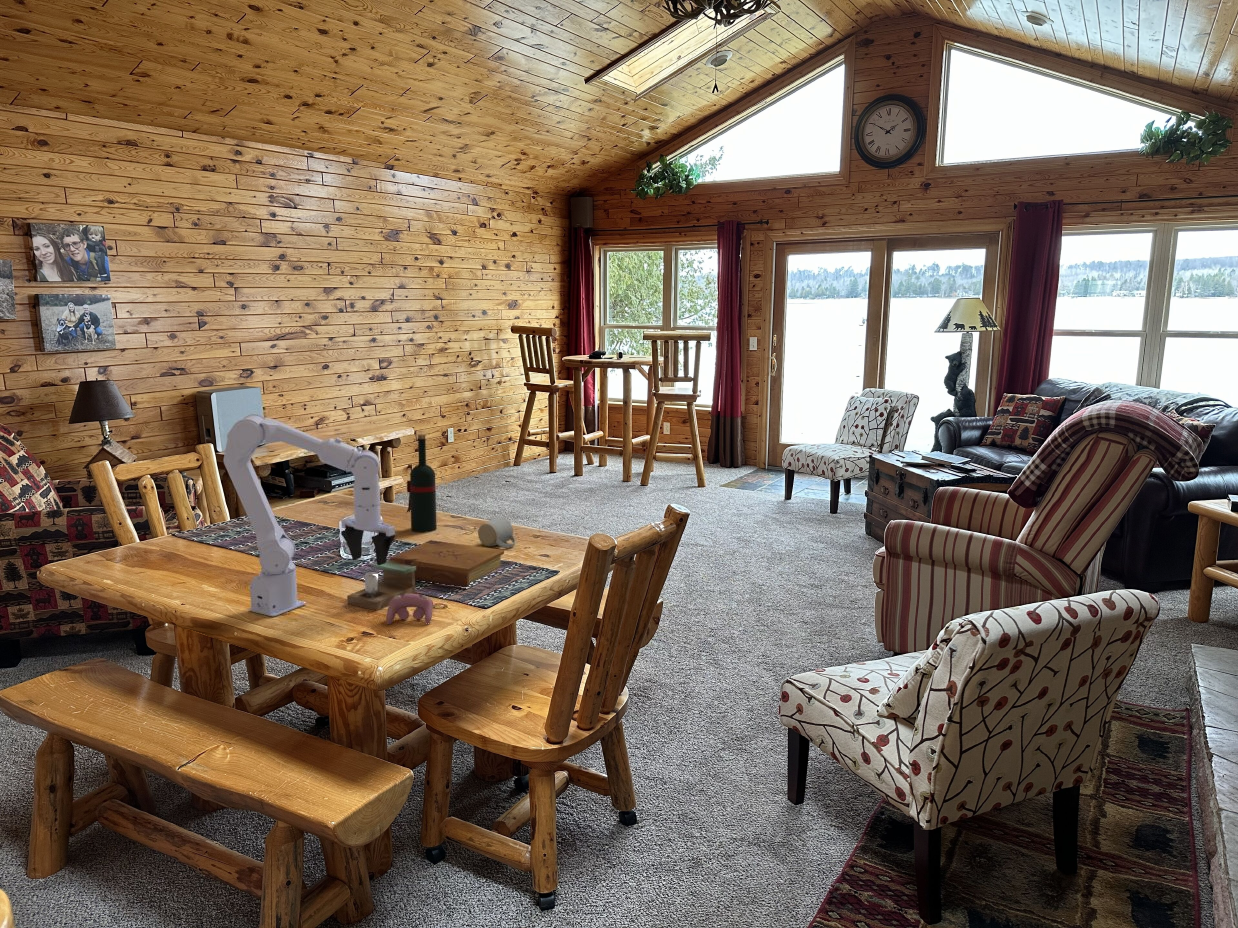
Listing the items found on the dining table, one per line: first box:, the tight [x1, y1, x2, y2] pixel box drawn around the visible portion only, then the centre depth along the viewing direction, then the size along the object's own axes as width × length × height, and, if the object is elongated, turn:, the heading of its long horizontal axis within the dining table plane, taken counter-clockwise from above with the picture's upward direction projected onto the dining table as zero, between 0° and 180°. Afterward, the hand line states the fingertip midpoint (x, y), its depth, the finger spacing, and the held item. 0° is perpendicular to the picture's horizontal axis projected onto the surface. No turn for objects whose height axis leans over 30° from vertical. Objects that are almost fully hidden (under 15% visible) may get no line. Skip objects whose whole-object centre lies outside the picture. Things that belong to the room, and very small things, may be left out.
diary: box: [389, 539, 505, 587], centre depth 212 cm, size 23×19×6 cm
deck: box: [346, 560, 416, 611], centre depth 192 cm, size 13×10×7 cm
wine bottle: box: [405, 433, 438, 534], centre depth 253 cm, size 8×10×30 cm
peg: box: [364, 571, 380, 599], centre depth 189 cm, size 3×3×7 cm
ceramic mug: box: [477, 516, 517, 549], centre depth 239 cm, size 11×8×8 cm
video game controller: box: [385, 593, 434, 625], centre depth 179 cm, size 10×5×7 cm, turn 92°
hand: (368, 561), depth 188 cm, fingers open, 7 cm apart
